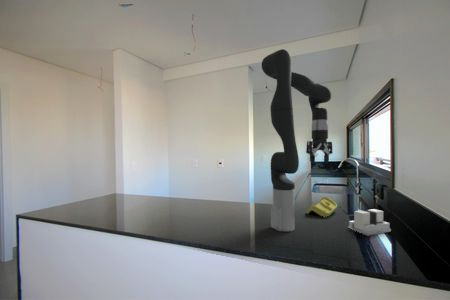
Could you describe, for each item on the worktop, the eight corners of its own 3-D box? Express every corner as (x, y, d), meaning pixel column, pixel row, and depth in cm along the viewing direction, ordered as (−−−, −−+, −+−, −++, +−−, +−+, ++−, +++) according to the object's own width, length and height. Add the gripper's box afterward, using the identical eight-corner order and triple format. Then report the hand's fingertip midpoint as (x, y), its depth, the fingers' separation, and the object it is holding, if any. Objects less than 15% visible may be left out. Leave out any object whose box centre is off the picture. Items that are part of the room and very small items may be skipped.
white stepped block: (367, 235, 92) (367, 215, 92) (347, 228, 100) (348, 210, 100) (390, 231, 97) (390, 212, 97) (370, 225, 105) (370, 207, 105)
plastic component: (328, 214, 115) (310, 202, 121) (322, 225, 117) (304, 214, 123) (339, 204, 130) (322, 194, 136) (333, 214, 132) (317, 204, 138)
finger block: (363, 230, 95) (363, 213, 95) (354, 227, 98) (354, 211, 98) (370, 229, 96) (370, 212, 96) (361, 226, 100) (361, 210, 100)
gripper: (313, 128, 107) (313, 163, 107) (336, 129, 112) (336, 162, 112) (302, 129, 114) (302, 162, 114) (324, 130, 119) (324, 162, 119)
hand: (319, 162), depth 113 cm, fingers open, 8 cm apart
